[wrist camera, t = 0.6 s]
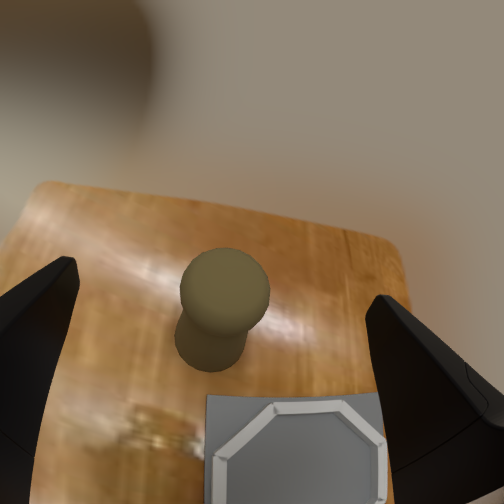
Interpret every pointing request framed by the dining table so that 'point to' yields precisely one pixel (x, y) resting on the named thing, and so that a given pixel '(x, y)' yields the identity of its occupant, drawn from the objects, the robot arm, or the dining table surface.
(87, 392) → the dining table surface
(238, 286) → the olive brown pawn
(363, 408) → the collar plate
